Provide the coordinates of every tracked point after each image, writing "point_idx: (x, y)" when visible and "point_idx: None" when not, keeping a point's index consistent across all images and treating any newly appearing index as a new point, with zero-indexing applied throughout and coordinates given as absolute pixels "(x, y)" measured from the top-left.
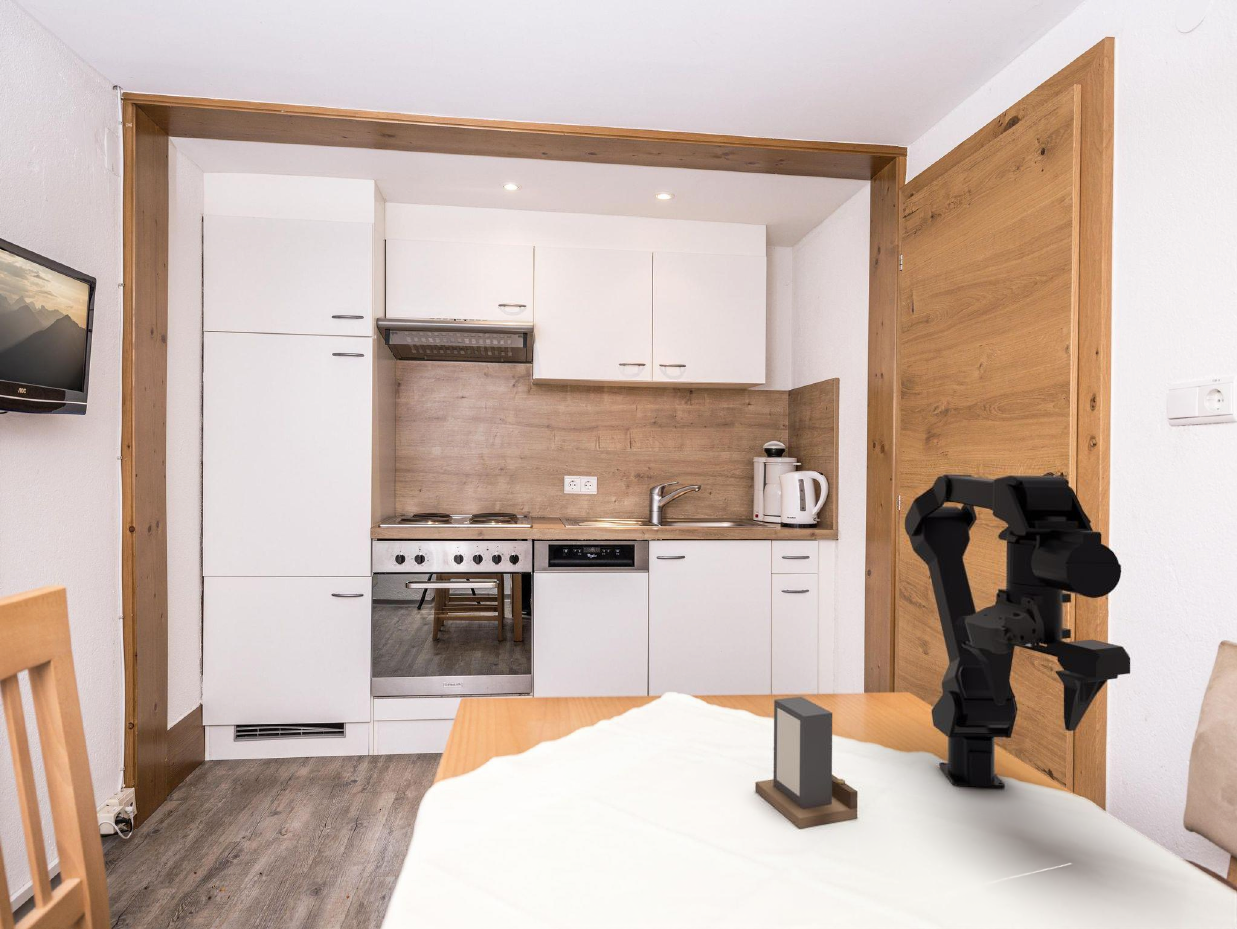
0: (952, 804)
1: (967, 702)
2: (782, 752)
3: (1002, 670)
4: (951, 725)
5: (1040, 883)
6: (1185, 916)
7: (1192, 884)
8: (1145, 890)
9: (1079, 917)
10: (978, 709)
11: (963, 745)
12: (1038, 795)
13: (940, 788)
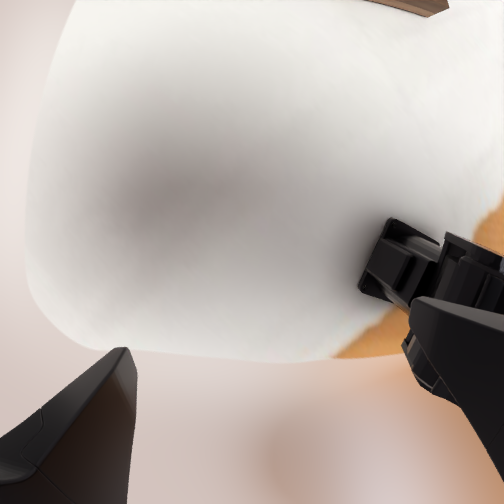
0: (343, 164)
1: (478, 276)
2: None
3: (488, 391)
4: (458, 237)
5: (103, 122)
6: (29, 255)
7: (83, 324)
8: (71, 257)
9: (39, 121)
10: (455, 294)
11: (428, 257)
12: (326, 323)
13: (390, 189)
